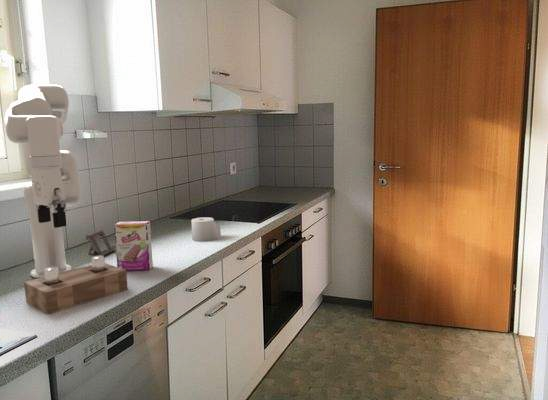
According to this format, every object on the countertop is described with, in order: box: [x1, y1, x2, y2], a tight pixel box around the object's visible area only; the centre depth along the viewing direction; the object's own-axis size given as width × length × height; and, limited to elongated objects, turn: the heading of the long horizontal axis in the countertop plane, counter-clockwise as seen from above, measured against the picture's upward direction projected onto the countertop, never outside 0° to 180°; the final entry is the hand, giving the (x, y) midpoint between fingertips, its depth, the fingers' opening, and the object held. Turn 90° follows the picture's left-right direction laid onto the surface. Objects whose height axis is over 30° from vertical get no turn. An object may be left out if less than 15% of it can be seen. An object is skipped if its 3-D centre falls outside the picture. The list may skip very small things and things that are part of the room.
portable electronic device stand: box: [85, 229, 116, 257], centre depth 187 cm, size 9×8×8 cm
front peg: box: [44, 267, 60, 286], centre depth 136 cm, size 4×4×6 cm
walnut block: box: [23, 262, 128, 315], centre depth 141 cm, size 14×24×6 cm, turn 139°
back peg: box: [91, 255, 106, 273], centre depth 146 cm, size 4×4×6 cm
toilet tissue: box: [190, 216, 222, 243], centre depth 207 cm, size 9×13×9 cm
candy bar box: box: [113, 220, 154, 272], centre depth 165 cm, size 11×5×16 cm, turn 92°
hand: (52, 224), depth 133 cm, fingers open, 9 cm apart
